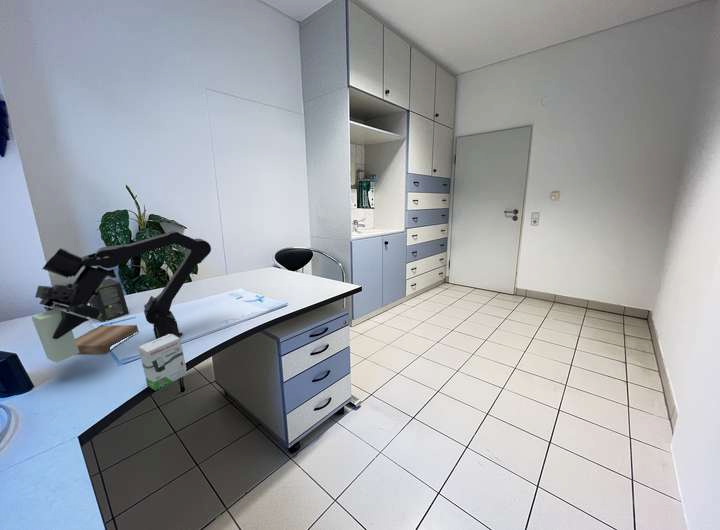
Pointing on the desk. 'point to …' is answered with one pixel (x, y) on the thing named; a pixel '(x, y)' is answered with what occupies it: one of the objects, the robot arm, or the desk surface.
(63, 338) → the sage block
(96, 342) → the walnut base board
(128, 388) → the desk surface
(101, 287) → the tampon box
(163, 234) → the robot arm
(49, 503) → the desk surface
